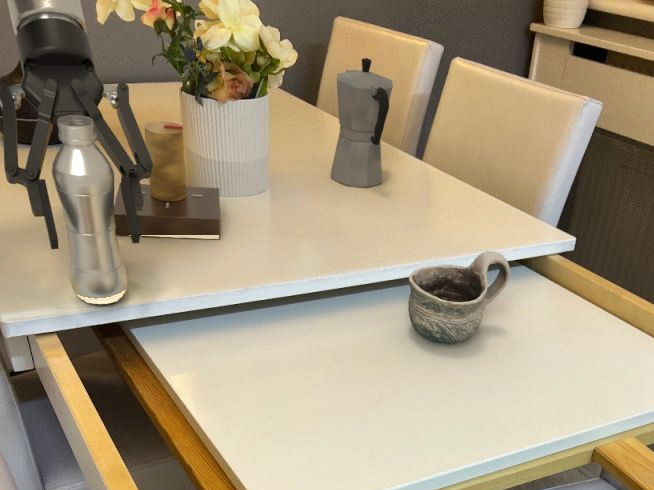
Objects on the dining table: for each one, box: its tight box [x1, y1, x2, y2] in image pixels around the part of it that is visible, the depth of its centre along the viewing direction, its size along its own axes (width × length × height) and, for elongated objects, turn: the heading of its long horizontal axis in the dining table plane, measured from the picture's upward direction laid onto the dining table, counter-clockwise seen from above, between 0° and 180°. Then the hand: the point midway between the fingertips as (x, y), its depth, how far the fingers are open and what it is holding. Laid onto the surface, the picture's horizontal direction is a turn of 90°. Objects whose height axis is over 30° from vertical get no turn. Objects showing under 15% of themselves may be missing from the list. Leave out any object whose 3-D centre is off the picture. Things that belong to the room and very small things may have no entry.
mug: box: [407, 250, 511, 344], centre depth 94 cm, size 10×12×10 cm
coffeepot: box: [330, 57, 394, 189], centre depth 125 cm, size 15×9×18 cm, turn 24°
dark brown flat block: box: [114, 182, 221, 236], centre depth 111 cm, size 14×12×3 cm
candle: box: [144, 120, 187, 201], centre depth 108 cm, size 5×5×9 cm
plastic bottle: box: [51, 115, 128, 299], centre depth 87 cm, size 6×7×20 cm
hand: (96, 241), depth 86 cm, fingers open, 8 cm apart
